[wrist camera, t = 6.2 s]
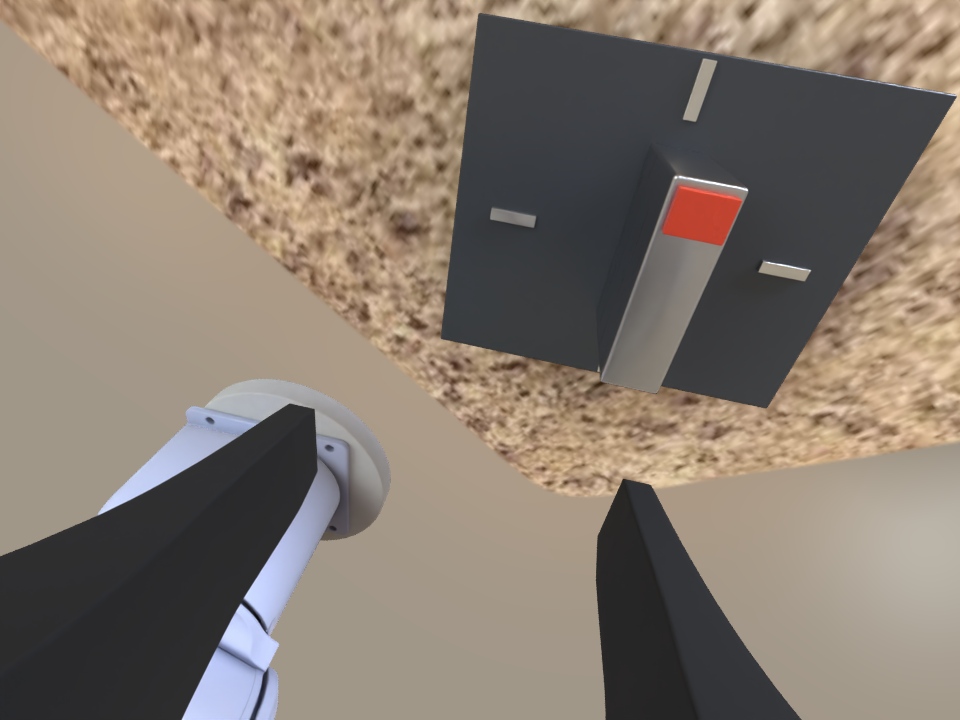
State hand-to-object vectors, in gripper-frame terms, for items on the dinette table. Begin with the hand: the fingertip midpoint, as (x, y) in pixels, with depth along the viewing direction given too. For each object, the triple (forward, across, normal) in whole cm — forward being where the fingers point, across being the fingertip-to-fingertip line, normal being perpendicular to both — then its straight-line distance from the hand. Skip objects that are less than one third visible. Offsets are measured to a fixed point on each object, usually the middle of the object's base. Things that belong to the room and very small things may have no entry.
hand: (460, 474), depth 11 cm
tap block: (+10, -4, -4) cm, 12 cm away
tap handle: (+7, -4, -4) cm, 9 cm away
